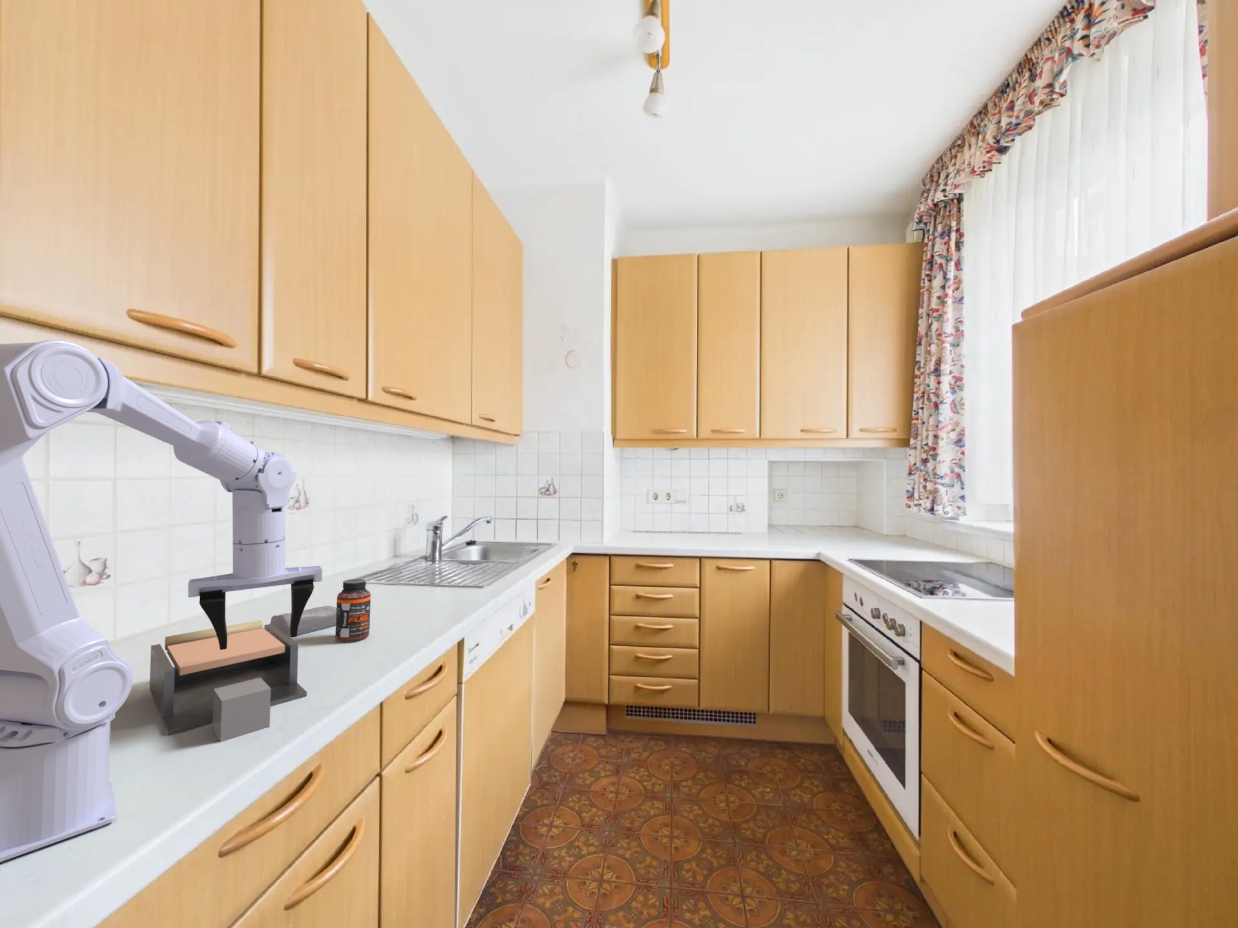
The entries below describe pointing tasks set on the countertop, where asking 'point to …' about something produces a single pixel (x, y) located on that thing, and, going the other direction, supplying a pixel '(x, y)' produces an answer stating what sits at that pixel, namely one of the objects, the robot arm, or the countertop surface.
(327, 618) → the stone block
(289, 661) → the trapdoor frame
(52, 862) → the countertop surface
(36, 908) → the countertop surface
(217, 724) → the grey cube
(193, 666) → the trapdoor
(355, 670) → the countertop surface
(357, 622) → the supplement bottle
